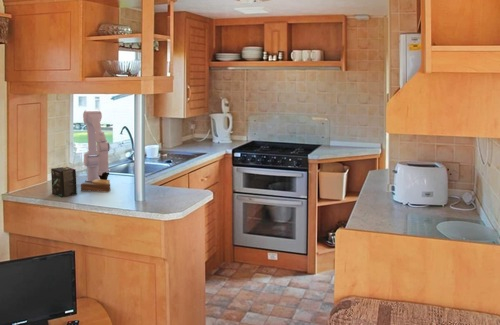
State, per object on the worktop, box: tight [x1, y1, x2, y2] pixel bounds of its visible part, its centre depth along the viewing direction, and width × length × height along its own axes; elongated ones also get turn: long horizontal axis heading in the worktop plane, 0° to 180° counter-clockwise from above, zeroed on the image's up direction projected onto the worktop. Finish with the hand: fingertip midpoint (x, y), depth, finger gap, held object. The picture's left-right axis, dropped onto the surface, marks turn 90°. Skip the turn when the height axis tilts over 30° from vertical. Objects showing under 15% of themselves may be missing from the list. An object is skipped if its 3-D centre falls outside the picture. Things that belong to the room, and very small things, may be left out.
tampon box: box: [50, 166, 78, 198], centre depth 278 cm, size 11×9×15 cm
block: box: [91, 179, 111, 185], centre depth 293 cm, size 6×8×5 cm
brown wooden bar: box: [80, 182, 111, 193], centre depth 289 cm, size 3×16×4 cm, turn 89°
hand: (104, 184), depth 298 cm, fingers closed
